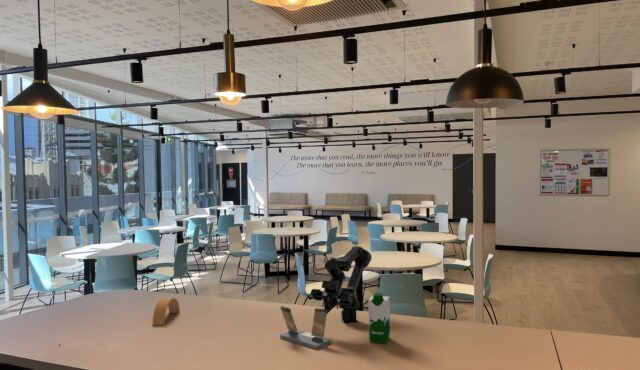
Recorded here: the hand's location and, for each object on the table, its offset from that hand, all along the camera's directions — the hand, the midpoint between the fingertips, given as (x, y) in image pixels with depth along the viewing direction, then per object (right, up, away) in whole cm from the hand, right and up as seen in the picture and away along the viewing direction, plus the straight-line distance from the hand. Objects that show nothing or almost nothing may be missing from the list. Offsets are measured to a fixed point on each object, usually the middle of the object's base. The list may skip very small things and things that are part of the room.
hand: (325, 313), depth 193 cm
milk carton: (+23, -10, -3) cm, 26 cm away
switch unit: (-9, -11, -2) cm, 14 cm away
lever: (-14, -8, +2) cm, 17 cm away
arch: (-80, -12, +31) cm, 86 cm away
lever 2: (-4, -8, -7) cm, 11 cm away
